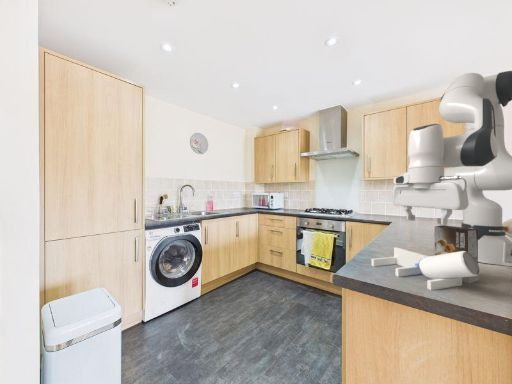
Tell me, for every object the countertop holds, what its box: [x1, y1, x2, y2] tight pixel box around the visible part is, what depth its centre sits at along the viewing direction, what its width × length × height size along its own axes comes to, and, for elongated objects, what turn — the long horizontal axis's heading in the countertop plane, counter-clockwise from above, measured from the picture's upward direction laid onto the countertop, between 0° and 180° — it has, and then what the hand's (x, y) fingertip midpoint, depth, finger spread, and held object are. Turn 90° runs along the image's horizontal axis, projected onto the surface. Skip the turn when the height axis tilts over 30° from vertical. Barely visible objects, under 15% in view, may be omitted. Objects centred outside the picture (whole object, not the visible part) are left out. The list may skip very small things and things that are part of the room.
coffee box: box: [433, 225, 479, 284], centre depth 69 cm, size 9×6×16 cm
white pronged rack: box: [371, 246, 463, 291], centre depth 71 cm, size 12×21×6 cm, turn 15°
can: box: [419, 251, 481, 280], centre depth 62 cm, size 6×6×12 cm
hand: (425, 222), depth 66 cm, fingers open, 8 cm apart
